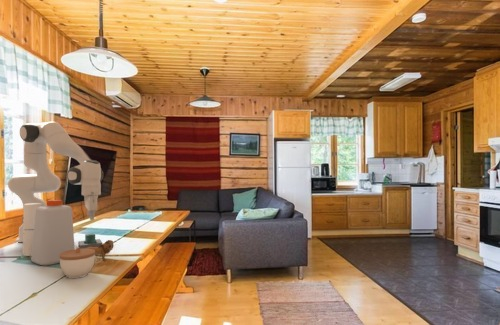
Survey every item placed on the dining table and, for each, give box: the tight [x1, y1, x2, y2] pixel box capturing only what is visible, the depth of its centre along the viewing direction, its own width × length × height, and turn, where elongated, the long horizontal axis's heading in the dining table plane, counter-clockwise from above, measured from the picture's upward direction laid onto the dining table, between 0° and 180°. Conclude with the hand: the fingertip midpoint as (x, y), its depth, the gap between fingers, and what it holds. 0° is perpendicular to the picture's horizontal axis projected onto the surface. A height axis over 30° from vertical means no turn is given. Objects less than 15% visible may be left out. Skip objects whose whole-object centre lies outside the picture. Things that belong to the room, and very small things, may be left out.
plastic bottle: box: [30, 199, 76, 266], centre depth 142 cm, size 15×15×28 cm
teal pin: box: [84, 232, 96, 244], centre depth 156 cm, size 4×4×8 cm
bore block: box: [77, 238, 103, 249], centre depth 156 cm, size 10×10×5 cm
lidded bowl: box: [59, 247, 96, 279], centre depth 122 cm, size 13×13×11 cm
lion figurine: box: [87, 239, 114, 262], centre depth 141 cm, size 15×5×9 cm, turn 121°
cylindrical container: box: [22, 203, 41, 256], centre depth 152 cm, size 7×7×25 cm
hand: (90, 218), depth 156 cm, fingers open, 8 cm apart
